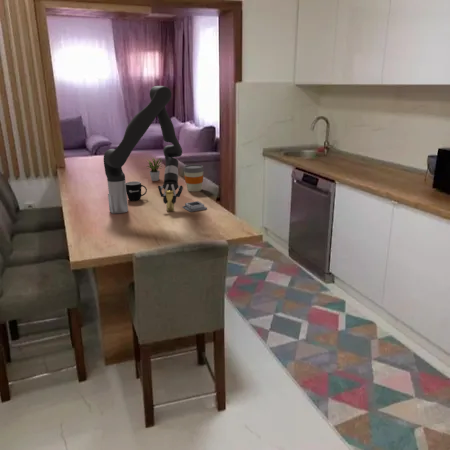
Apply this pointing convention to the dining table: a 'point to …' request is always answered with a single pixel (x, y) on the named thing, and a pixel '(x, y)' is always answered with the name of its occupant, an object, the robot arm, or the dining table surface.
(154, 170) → the house plant
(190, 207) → the square tray with knobs
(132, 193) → the mug
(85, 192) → the dining table surface
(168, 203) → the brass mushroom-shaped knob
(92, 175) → the dining table surface
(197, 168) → the reusable coffee cup
